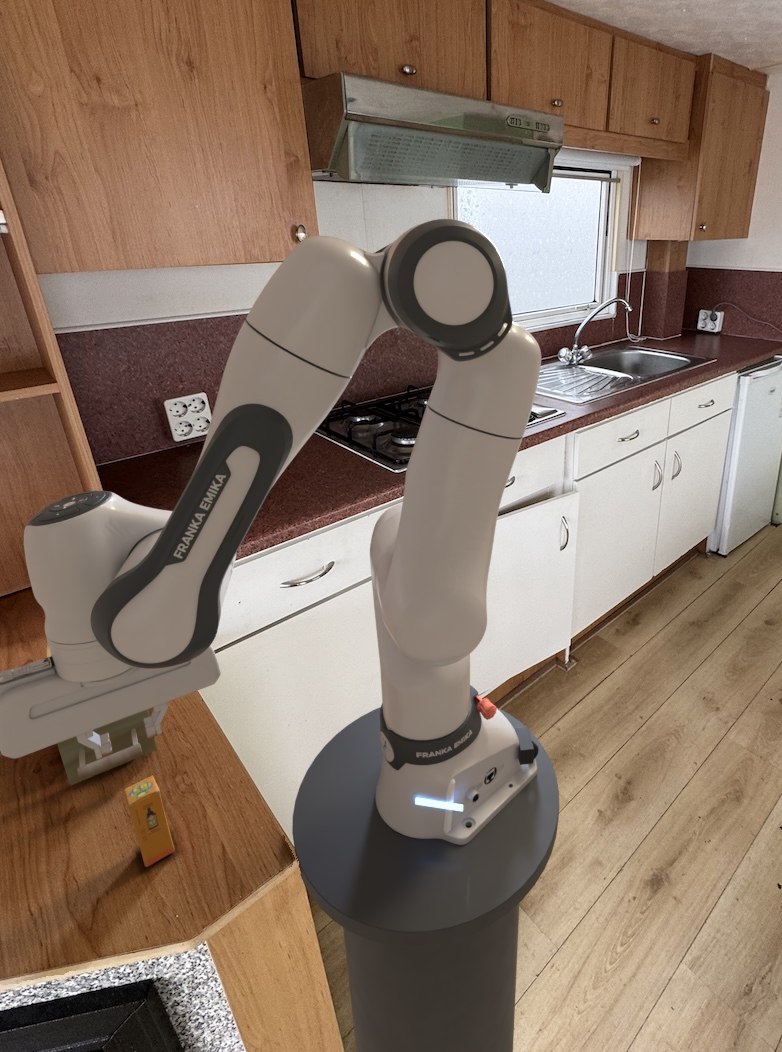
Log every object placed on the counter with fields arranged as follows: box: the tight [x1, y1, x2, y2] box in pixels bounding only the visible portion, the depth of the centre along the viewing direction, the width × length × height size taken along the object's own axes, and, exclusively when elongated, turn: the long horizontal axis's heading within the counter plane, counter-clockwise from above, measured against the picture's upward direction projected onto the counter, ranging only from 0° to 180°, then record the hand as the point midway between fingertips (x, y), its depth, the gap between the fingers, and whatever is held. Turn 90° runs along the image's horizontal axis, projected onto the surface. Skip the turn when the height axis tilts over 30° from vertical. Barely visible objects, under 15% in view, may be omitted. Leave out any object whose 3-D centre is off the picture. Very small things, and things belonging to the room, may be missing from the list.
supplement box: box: [124, 775, 176, 868], centre depth 69 cm, size 3×3×10 cm
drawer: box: [56, 709, 158, 786], centre depth 83 cm, size 18×10×9 cm, turn 37°
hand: (130, 742), depth 65 cm, fingers open, 3 cm apart
